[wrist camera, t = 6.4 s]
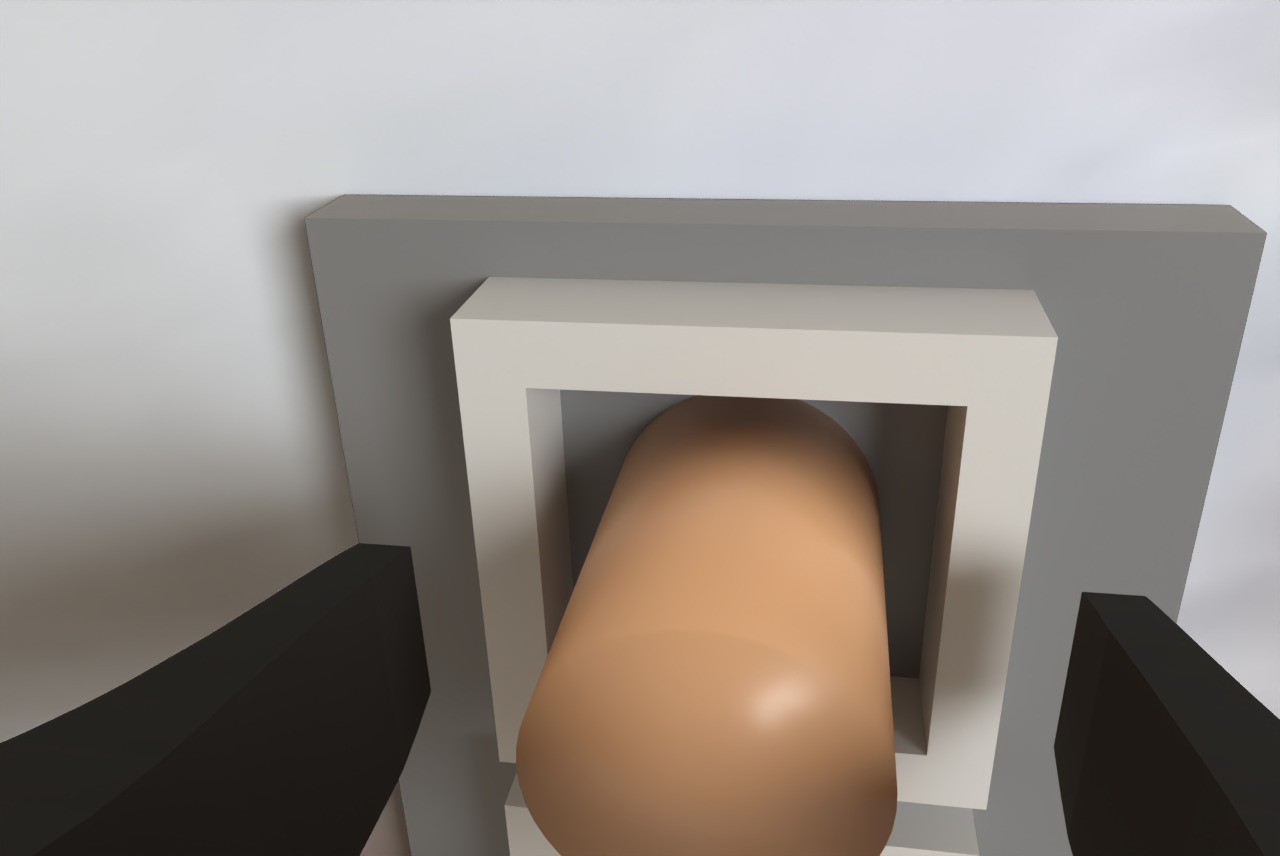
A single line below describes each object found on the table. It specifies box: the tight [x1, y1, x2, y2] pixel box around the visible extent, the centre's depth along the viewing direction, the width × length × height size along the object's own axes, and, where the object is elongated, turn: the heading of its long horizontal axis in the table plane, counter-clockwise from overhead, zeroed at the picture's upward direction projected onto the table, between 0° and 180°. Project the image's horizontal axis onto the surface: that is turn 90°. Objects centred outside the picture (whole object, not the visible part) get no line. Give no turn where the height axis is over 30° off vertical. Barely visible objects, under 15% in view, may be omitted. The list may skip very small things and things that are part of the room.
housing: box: [305, 195, 1267, 856], centre depth 15 cm, size 15×11×3 cm
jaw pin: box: [516, 395, 898, 856], centre depth 12 cm, size 3×3×5 cm
